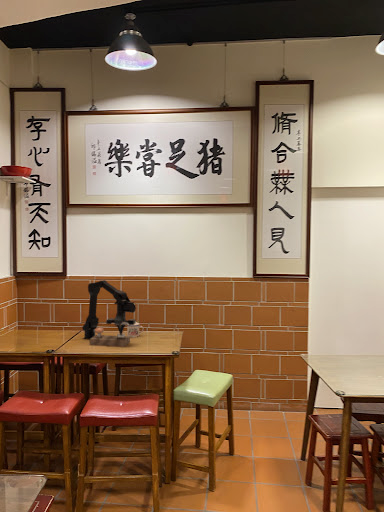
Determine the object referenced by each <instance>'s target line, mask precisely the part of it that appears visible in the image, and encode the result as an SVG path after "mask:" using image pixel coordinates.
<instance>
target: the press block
mask: <svg viewBox="0 0 384 512" xmlns="http://www.w3.org/2000/svg"><path fill="white" fill-rule="evenodd" d="M129 342H131V337H130V336H127V335H125V338H124V339H118V338H117V335H105V334H101V338H98V334H95V336H94V337H92V338H90V339H89V346H103V347H121V348H123V347H125V348H126V346H127V345H129V344H130V343H129ZM128 343H129V344H128Z"/></svg>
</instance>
